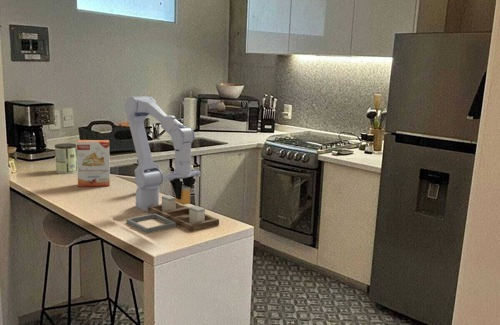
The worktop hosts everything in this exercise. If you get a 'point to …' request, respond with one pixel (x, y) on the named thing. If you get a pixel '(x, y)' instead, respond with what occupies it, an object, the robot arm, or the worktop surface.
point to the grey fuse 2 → (196, 214)
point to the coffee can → (66, 158)
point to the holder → (183, 217)
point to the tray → (148, 230)
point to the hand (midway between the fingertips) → (182, 197)
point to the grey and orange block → (184, 195)
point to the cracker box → (93, 163)
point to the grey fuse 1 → (168, 203)
